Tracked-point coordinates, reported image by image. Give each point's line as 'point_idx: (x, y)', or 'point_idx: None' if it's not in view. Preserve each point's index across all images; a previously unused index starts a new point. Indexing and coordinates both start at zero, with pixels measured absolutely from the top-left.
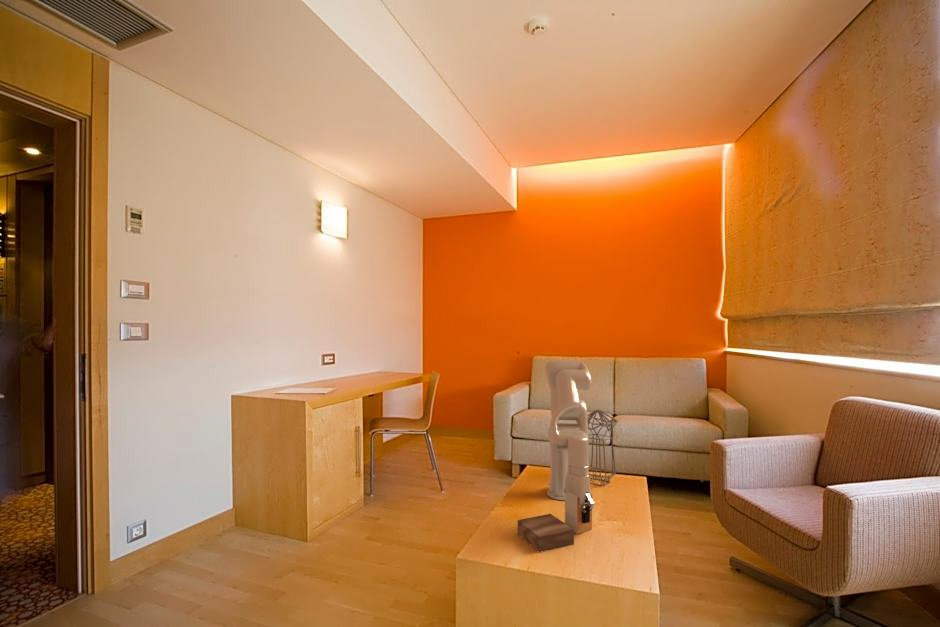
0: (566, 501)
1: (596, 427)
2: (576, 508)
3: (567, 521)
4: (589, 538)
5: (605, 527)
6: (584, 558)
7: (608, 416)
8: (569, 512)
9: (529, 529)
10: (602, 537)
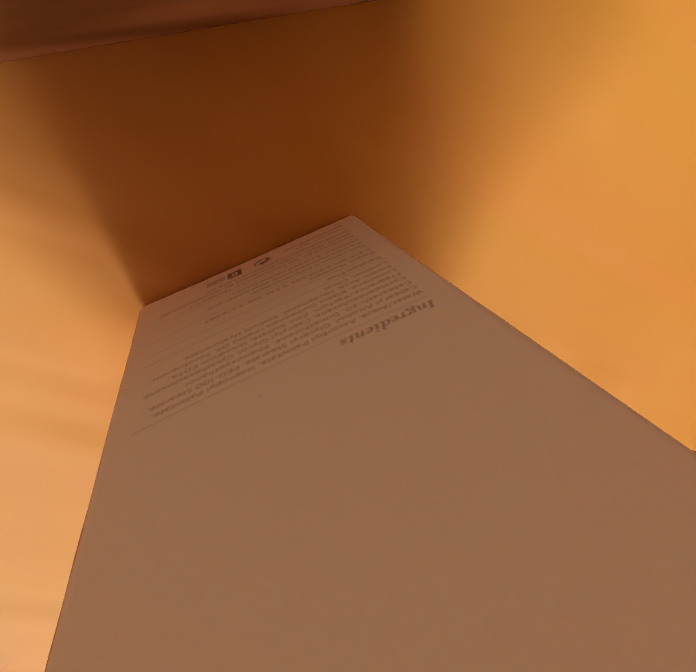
0: (610, 494)
1: None
2: (78, 662)
3: (331, 262)
4: (20, 415)
5: None
6: None
7: None
8: (335, 364)
9: None
10: (58, 543)
